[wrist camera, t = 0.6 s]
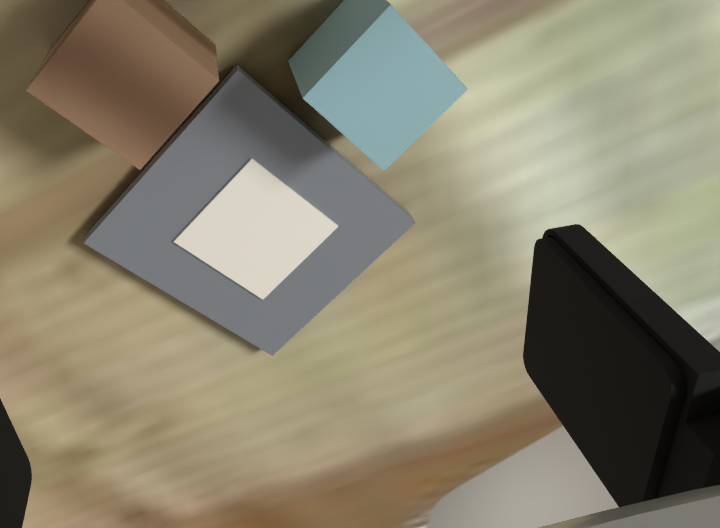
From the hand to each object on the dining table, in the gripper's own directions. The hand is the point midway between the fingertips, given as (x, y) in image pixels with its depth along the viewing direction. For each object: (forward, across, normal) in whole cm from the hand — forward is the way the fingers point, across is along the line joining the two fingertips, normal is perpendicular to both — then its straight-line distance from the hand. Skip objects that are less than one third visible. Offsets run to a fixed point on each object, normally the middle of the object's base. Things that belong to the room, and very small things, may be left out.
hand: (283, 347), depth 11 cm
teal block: (+29, -8, +4) cm, 30 cm away
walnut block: (+29, +4, +2) cm, 29 cm away
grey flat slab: (+29, -1, +13) cm, 32 cm away
